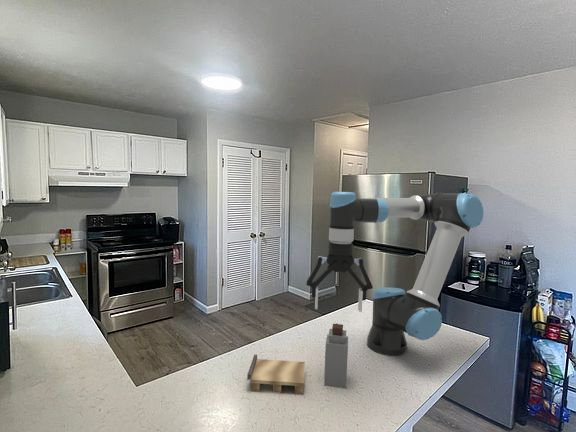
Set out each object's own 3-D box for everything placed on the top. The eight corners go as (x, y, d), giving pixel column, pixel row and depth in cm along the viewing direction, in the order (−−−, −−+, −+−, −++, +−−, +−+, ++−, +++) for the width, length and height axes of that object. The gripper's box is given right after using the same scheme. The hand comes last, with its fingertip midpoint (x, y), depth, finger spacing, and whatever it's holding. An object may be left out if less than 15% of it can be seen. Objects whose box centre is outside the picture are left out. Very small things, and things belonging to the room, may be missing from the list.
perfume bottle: (346, 388, 99) (348, 331, 97) (324, 385, 100) (326, 329, 99) (346, 376, 105) (348, 323, 104) (325, 373, 107) (327, 320, 105)
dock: (304, 371, 107) (305, 357, 107) (303, 394, 95) (304, 378, 95) (254, 368, 108) (254, 354, 108) (247, 390, 96) (247, 374, 96)
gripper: (379, 241, 102) (375, 307, 104) (300, 238, 104) (298, 302, 105) (384, 245, 95) (381, 315, 96) (300, 241, 96) (297, 311, 98)
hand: (337, 309), depth 101 cm, fingers open, 13 cm apart
